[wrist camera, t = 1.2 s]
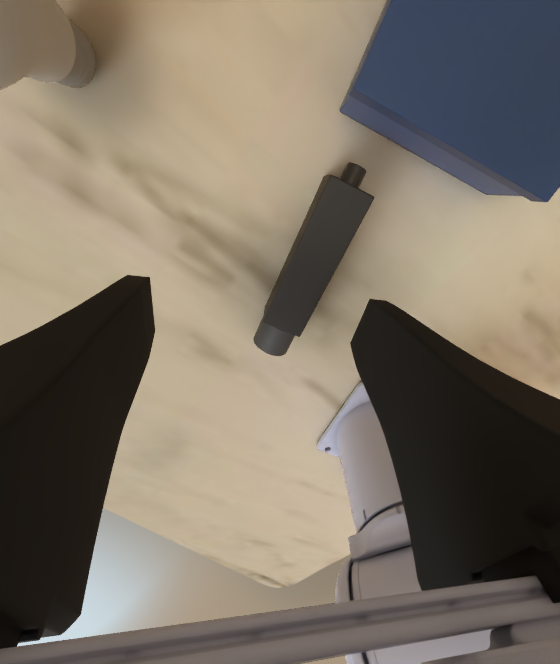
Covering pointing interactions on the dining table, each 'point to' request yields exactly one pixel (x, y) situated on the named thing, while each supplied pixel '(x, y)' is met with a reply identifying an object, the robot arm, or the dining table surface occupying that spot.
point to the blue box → (468, 90)
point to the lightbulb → (42, 45)
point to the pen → (313, 258)
